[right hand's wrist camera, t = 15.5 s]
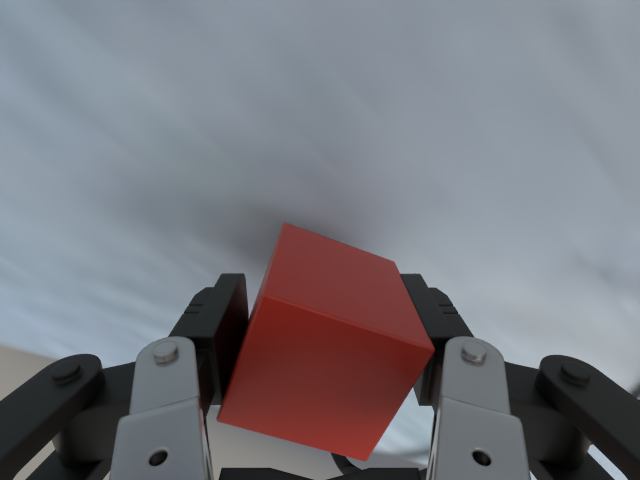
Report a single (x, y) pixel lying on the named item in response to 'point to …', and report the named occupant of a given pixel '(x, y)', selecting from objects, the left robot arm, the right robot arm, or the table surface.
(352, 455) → the block
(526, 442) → the right robot arm
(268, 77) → the table surface
